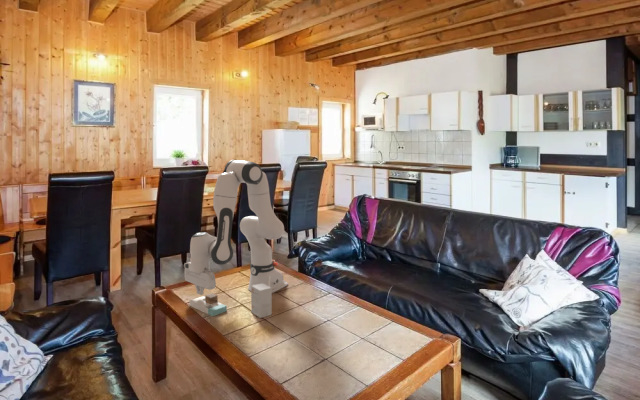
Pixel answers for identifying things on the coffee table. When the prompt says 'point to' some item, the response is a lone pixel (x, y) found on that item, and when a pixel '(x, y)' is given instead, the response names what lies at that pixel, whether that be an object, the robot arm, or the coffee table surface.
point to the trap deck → (207, 306)
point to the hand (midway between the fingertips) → (200, 293)
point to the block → (211, 298)
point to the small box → (261, 300)
